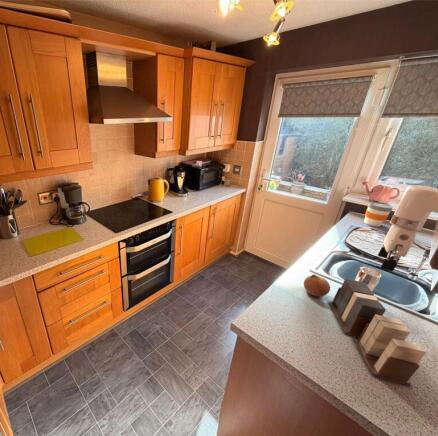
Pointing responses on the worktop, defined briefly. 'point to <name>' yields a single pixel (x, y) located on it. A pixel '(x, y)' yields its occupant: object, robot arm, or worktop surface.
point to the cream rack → (389, 349)
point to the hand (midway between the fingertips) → (384, 263)
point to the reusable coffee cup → (377, 213)
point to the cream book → (353, 301)
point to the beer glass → (368, 277)
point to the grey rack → (355, 307)
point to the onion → (316, 286)
